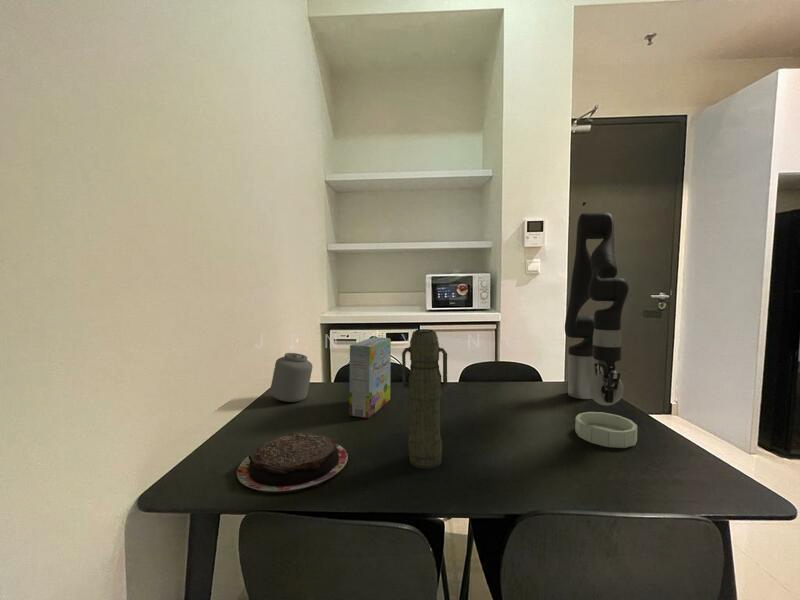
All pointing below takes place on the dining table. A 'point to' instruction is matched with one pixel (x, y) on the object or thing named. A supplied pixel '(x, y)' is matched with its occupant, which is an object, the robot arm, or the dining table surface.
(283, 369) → the jar
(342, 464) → the chocolate cake
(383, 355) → the snack box
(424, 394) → the thermos
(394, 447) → the dining table surface
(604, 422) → the bowl
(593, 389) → the donut
